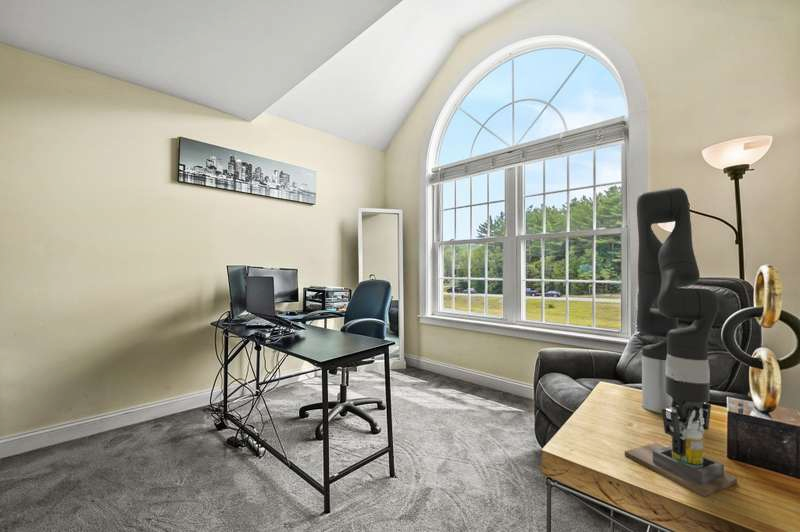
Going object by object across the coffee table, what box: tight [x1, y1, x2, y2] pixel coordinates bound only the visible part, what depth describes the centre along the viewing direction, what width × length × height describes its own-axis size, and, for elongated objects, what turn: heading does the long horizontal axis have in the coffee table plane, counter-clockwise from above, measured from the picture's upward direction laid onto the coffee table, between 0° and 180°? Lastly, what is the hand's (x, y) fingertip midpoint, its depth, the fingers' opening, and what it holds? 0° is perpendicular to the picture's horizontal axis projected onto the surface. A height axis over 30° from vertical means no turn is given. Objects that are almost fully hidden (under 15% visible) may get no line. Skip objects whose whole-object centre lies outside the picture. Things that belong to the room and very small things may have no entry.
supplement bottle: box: [672, 421, 704, 469], centre depth 75 cm, size 5×5×10 cm
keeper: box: [624, 442, 738, 498], centre depth 76 cm, size 12×16×4 cm
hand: (687, 451), depth 75 cm, fingers closed on supplement bottle, 5 cm apart
